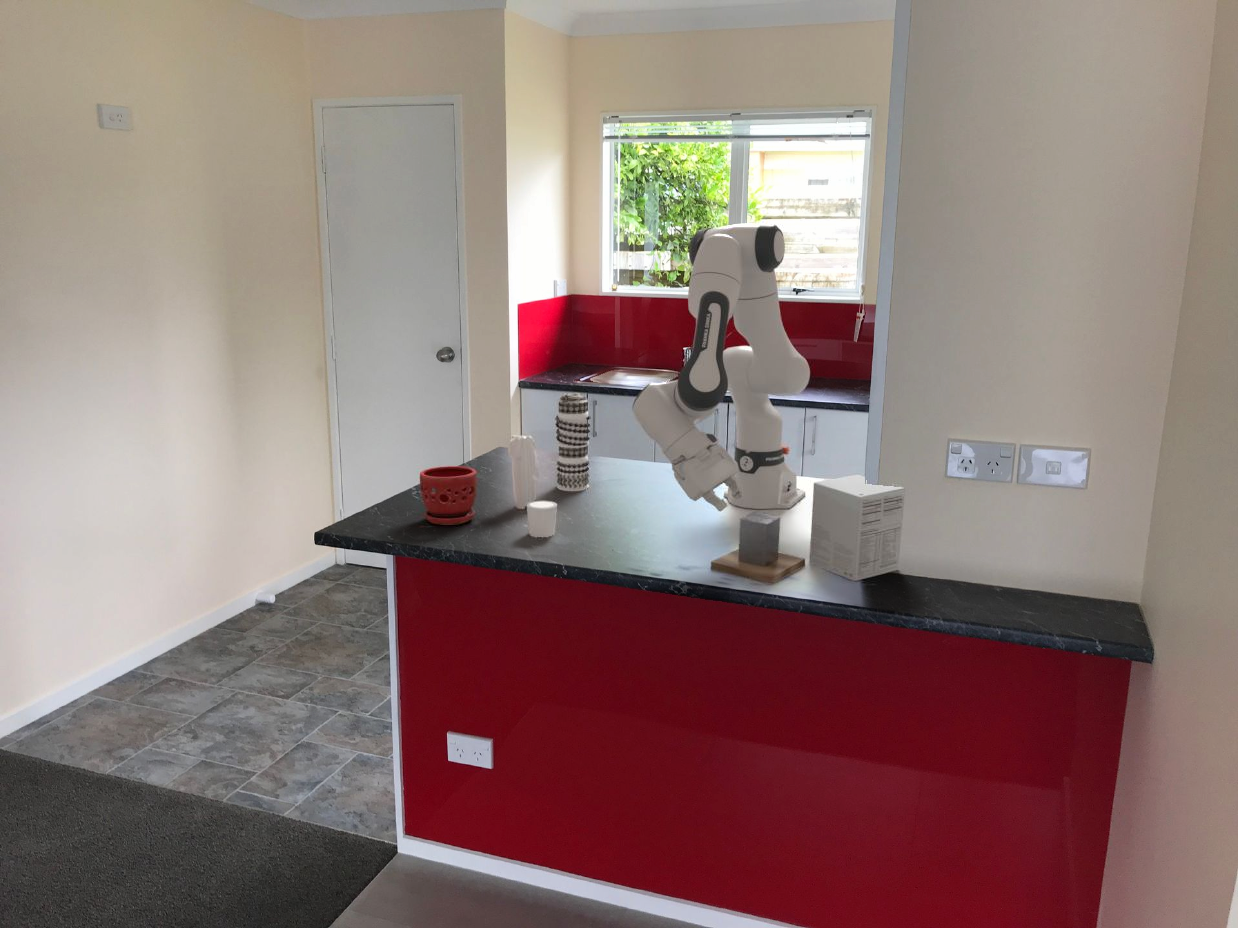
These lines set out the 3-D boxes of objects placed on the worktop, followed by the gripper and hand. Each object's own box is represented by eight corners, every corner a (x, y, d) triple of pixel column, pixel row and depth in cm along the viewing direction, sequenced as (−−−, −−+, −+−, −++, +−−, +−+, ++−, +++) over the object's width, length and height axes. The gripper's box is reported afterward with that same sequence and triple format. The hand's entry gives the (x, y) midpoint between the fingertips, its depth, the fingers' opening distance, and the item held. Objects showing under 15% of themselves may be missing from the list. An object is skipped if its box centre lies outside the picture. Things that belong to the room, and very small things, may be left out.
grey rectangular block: (752, 553, 203) (753, 512, 201) (778, 559, 200) (780, 517, 198) (738, 561, 198) (740, 518, 196) (764, 567, 195) (766, 524, 193)
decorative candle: (570, 480, 265) (569, 390, 259) (597, 486, 260) (597, 393, 254) (548, 487, 258) (547, 394, 252) (576, 493, 253) (575, 398, 247)
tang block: (746, 551, 209) (747, 524, 207) (804, 565, 200) (806, 537, 199) (710, 568, 198) (711, 540, 197) (771, 584, 190) (772, 555, 188)
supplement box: (900, 570, 198) (907, 487, 194) (854, 582, 191) (860, 496, 187) (852, 552, 209) (858, 473, 205) (807, 562, 202) (812, 481, 198)
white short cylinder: (533, 540, 215) (533, 509, 213) (522, 531, 221) (521, 502, 219) (562, 536, 218) (562, 506, 216) (549, 527, 224) (549, 498, 222)
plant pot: (489, 519, 230) (488, 470, 227) (444, 531, 220) (442, 480, 217) (454, 508, 238) (453, 461, 235) (410, 519, 229) (408, 470, 226)
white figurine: (513, 511, 236) (542, 509, 238) (511, 439, 232) (541, 437, 234) (506, 504, 242) (535, 501, 244) (504, 434, 238) (533, 432, 240)
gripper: (678, 453, 191) (724, 507, 189) (717, 432, 208) (759, 481, 207) (658, 472, 194) (702, 525, 192) (698, 450, 212) (739, 499, 210)
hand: (732, 502), depth 199 cm, fingers open, 8 cm apart
